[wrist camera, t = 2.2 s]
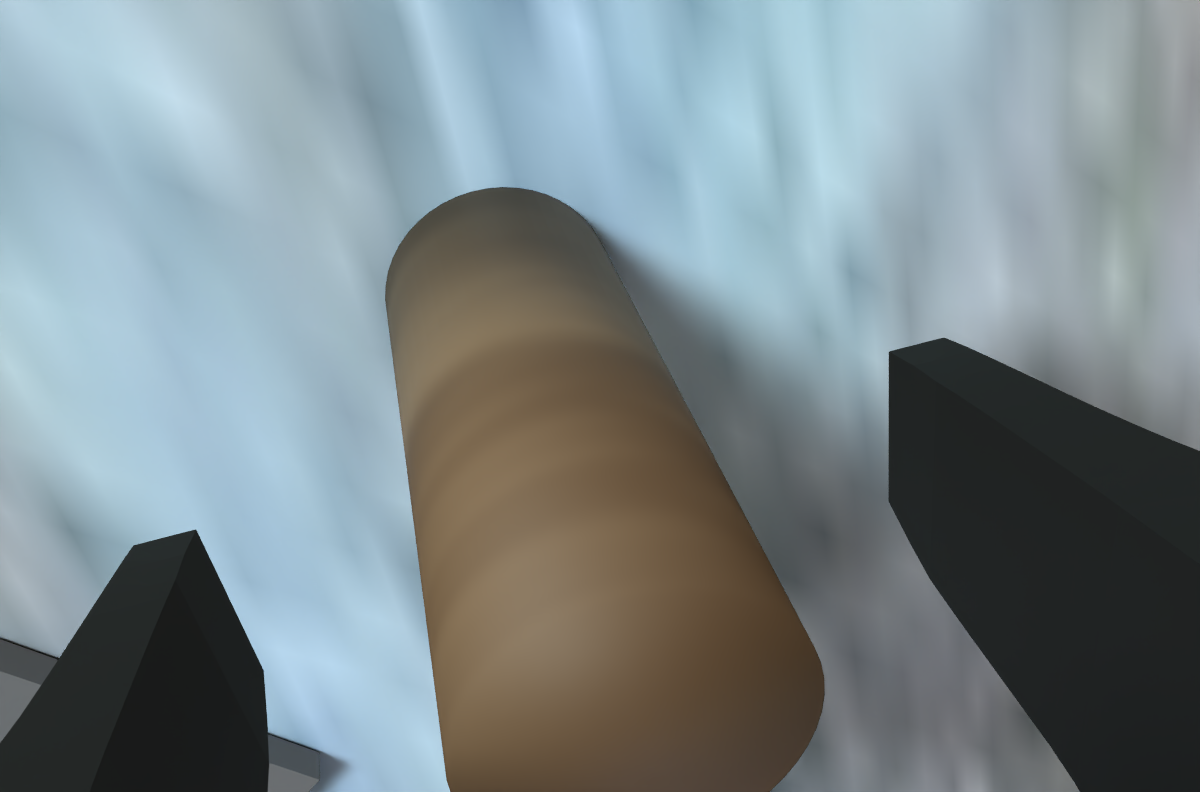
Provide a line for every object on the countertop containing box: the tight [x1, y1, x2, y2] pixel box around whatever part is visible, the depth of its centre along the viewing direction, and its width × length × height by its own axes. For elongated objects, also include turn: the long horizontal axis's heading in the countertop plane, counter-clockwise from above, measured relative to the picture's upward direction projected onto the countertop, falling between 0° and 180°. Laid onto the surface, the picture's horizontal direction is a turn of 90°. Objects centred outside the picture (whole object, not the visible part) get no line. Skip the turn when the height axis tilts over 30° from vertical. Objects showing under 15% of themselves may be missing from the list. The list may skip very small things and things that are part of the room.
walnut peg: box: [385, 187, 825, 792], centre depth 12 cm, size 3×3×8 cm
